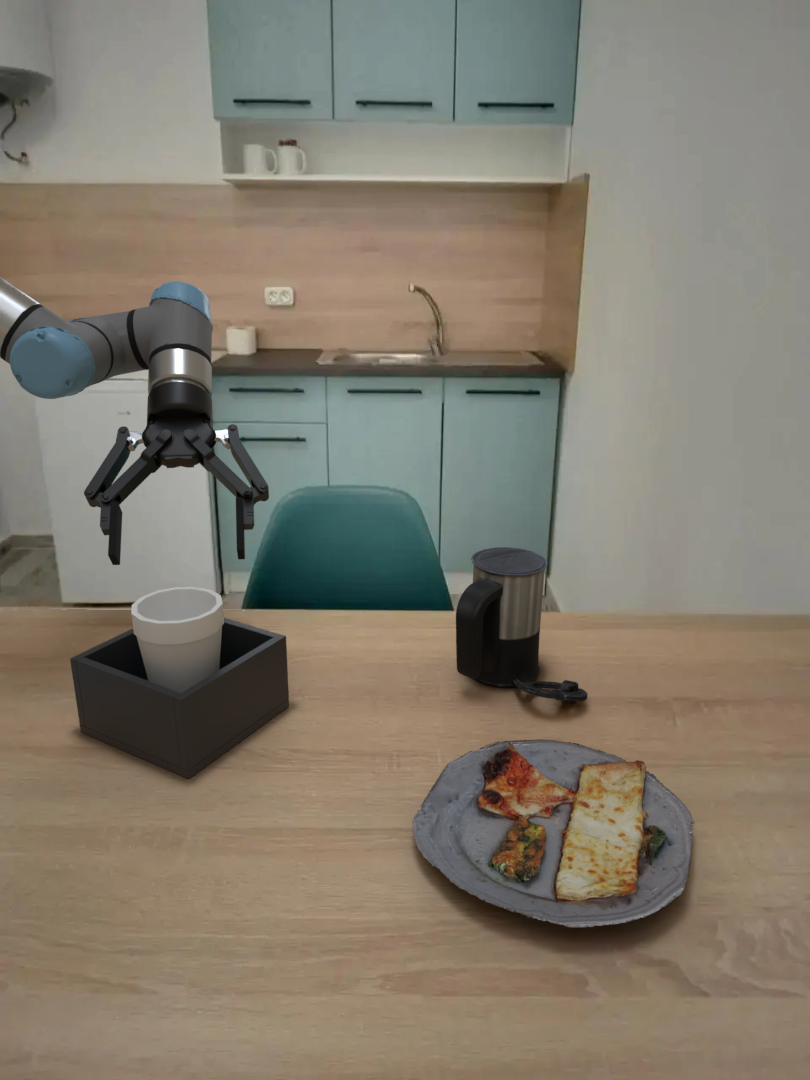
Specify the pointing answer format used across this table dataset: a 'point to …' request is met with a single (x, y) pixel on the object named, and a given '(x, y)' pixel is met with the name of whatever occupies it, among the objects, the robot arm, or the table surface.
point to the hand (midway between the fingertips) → (178, 557)
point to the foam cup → (179, 635)
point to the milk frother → (506, 624)
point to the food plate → (557, 832)
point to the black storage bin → (181, 699)
